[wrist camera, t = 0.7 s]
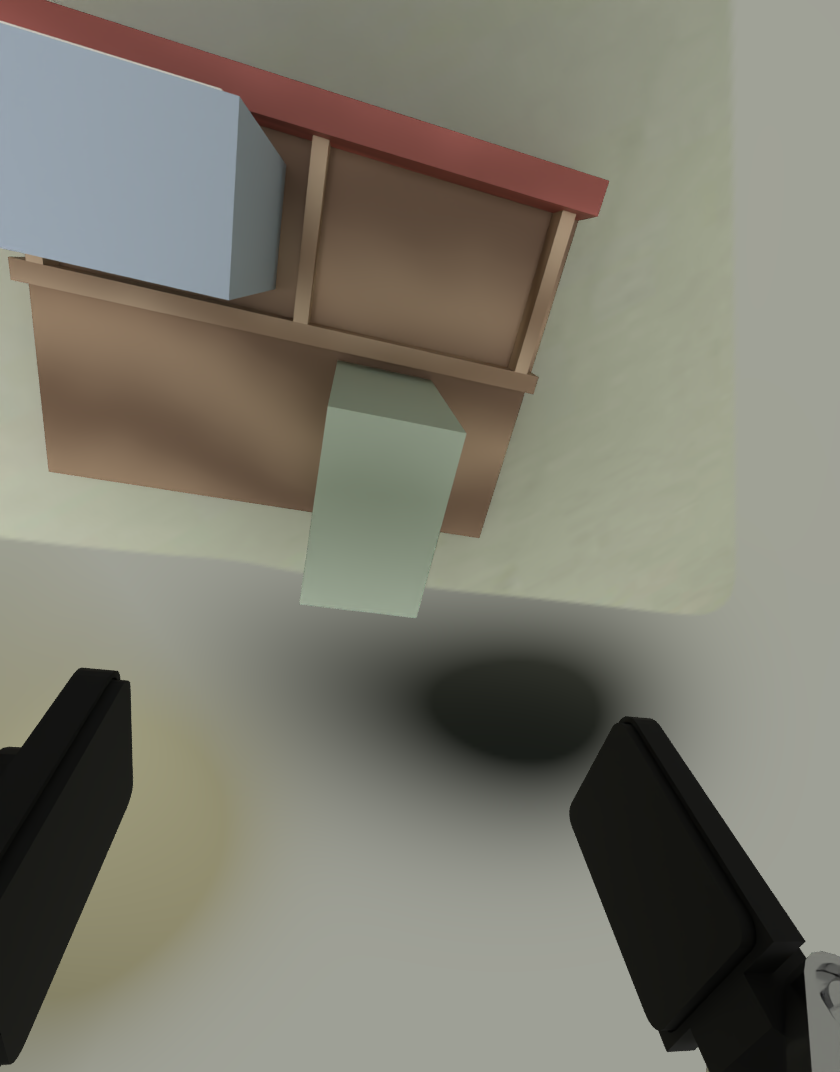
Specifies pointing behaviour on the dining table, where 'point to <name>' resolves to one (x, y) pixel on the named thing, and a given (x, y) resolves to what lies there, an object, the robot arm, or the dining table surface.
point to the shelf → (308, 297)
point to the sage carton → (379, 491)
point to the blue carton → (134, 170)
